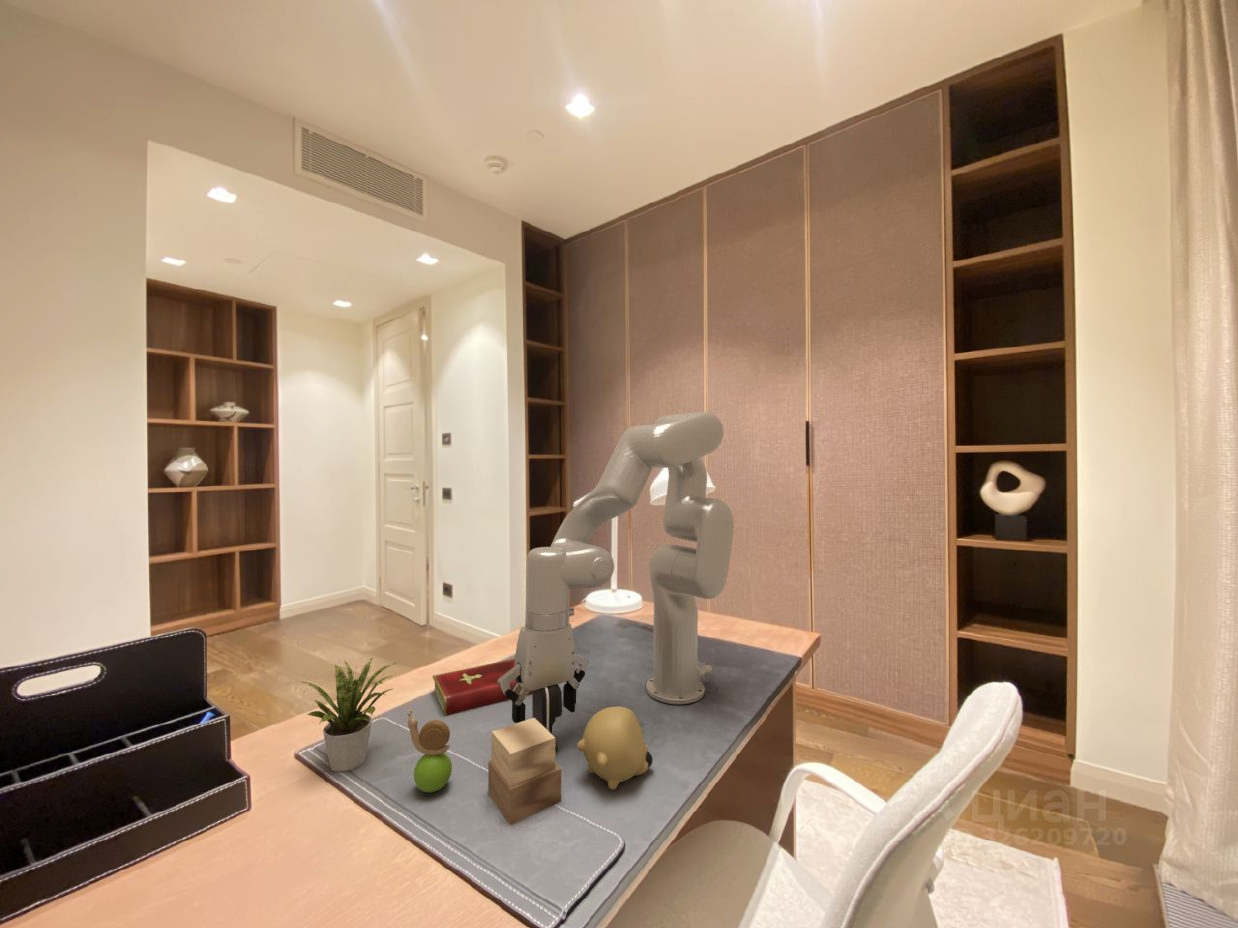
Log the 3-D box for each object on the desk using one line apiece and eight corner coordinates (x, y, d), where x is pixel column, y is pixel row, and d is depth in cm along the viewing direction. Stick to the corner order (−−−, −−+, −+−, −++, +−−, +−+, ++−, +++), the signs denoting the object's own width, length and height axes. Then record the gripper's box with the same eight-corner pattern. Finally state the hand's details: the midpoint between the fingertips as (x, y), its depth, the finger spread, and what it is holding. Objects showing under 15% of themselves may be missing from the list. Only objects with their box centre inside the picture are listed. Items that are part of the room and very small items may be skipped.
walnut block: (536, 774, 79) (536, 743, 79) (561, 802, 72) (561, 768, 72) (488, 794, 74) (488, 760, 74) (510, 826, 68) (510, 789, 68)
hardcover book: (544, 693, 107) (545, 673, 107) (444, 718, 96) (444, 697, 96) (525, 672, 117) (525, 654, 117) (432, 693, 106) (432, 674, 106)
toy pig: (636, 813, 75) (674, 748, 80) (596, 777, 69) (639, 710, 74) (597, 778, 82) (634, 721, 87) (558, 744, 77) (599, 684, 82)
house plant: (421, 746, 86) (421, 653, 86) (354, 798, 73) (354, 688, 73) (358, 731, 90) (358, 643, 90) (285, 777, 77) (285, 674, 77)
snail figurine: (413, 778, 77) (413, 702, 77) (455, 776, 78) (455, 700, 78) (401, 802, 72) (401, 720, 72) (446, 799, 72) (446, 718, 72)
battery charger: (564, 752, 84) (564, 686, 84) (542, 758, 83) (542, 690, 82) (551, 732, 91) (552, 670, 90) (531, 737, 89) (531, 674, 89)
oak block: (534, 745, 78) (534, 717, 78) (555, 768, 72) (555, 737, 72) (491, 761, 74) (491, 731, 74) (510, 786, 68) (510, 754, 68)
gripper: (578, 606, 94) (576, 695, 94) (491, 621, 84) (489, 721, 84) (600, 616, 88) (597, 712, 88) (509, 633, 78) (506, 742, 78)
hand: (544, 716), depth 86 cm, fingers open, 9 cm apart
